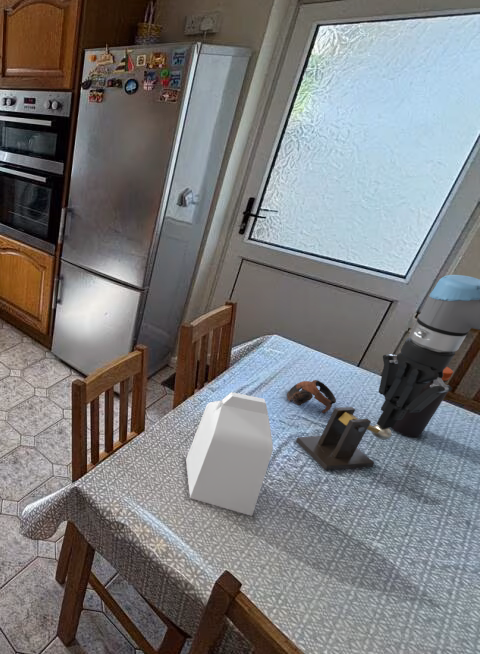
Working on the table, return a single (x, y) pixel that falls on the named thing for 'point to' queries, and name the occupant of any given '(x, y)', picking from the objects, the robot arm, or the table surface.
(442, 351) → the robot arm
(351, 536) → the table surface
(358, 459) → the dark grey lever stand
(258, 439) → the milk
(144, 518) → the table surface
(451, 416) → the table surface
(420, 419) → the bottle
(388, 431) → the tap lever
